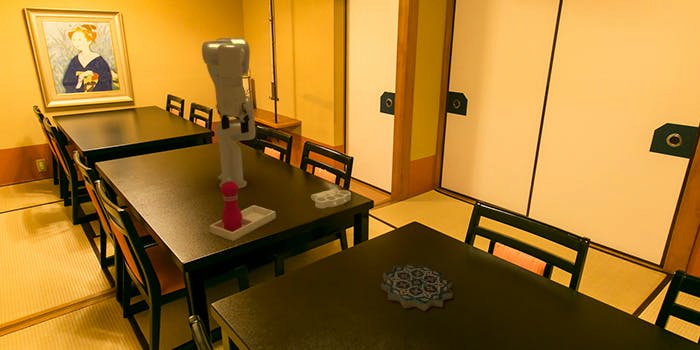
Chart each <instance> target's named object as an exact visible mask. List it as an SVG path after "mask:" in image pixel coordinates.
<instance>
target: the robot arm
mask: <svg viewBox="0 0 700 350" xmlns="http://www.w3.org/2000/svg"><path fill="white" fill-rule="evenodd" d="M250 54H251V51H250V45H249V43H248V41H247V40H246V39H245V38H243V37H219V38H217V39H215V40H208V41H204V42H203V43H202V45H201V56H202V57H201V58H202V60H203V62H204V63H205V64H206V68H207V72H208V74H209V77H210V79H211V81H212V82H213V85H214V89H215V90H214V91H215V97H216V98H215V99H216V100H215V101H216V104H215V108H216V110H217V114H218V115H219V118H220V121H218V122H217V124H216V125H215V133H216V136H217V140H218V146H219V147H218V148H219V153H220V157H219V158H220V167H221V173H220V174H219V175H218V176H217V178H218V179H219V180H220V181H221V182H220V183H219V187H220V188H221V186H222V184H223V183H225V182H227V181H226V179H227V178H231V180H232V182H235V183H236V184H237V185H238V190H239V189H243V188H245V187H246V186H247V184H248V181H247V180H245V179H244V174H243V173H244V172H243V159H242V149H241V147H240V146H239V144H238V143H236V141H247V140H248V141H249V140H253V139H255V137H256V121H255V113H254V112H255V111H254V104H253V103H254V102H253V100H252V98H251V97H250V96H249V95H246V94H247V93H246V90H245V86H244V81H243V76H246V75H247V74H248V72H249V70H250V56H251V55H250ZM237 117H238V118H239V119H230V118H237Z"/></svg>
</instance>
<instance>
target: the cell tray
mask: <svg viewBox="0 0 700 350" xmlns="http://www.w3.org/2000/svg"><path fill="white" fill-rule="evenodd" d="M240 211H241V214H242V221H241V224H242V228H240V229H238V230H236V231H234V232H231V231H228V230H225V229H224V225H225V224H224V223H223V221H222V219H221V220H218V221H216V222H214V223H212V224H210V225H209V233H210V234H212V235H215V236H218V237H221V238H223V239H226V240H229V241H232V242H234V241H237V240H238V239H241V238H242V237H244V236H246V235H248V234H249V233H252V232H253V231H255V230H257V229H260V227H262V226H264V225H266V224H268V223H270V222H272V221H274V220H275V219H276V217H277V214H276V211H275V210H271V209H267V208H264V207H261V206H259V205H251V206H249V207H247V208H244V209H243V210H240Z"/></svg>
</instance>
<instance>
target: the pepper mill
mask: <svg viewBox="0 0 700 350" xmlns="http://www.w3.org/2000/svg"><path fill="white" fill-rule="evenodd" d="M226 181H227V182H225V183H223V184H222V186H221V187H220V192H221V194H222V199H223V200H224V209H223V212H222V215H221V220H222V221H223V223H224V224H225V225H224V229H225V230H228V231H231V232H234V231H236V230H238V229H240V228H242V224H241V221H242V214H241V211H242V210H240V207H239V205H238V202H237V199H238V192H239V189H238V185H237V184H236V183H235V182H232V180H231V178H227V179H226Z"/></svg>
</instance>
